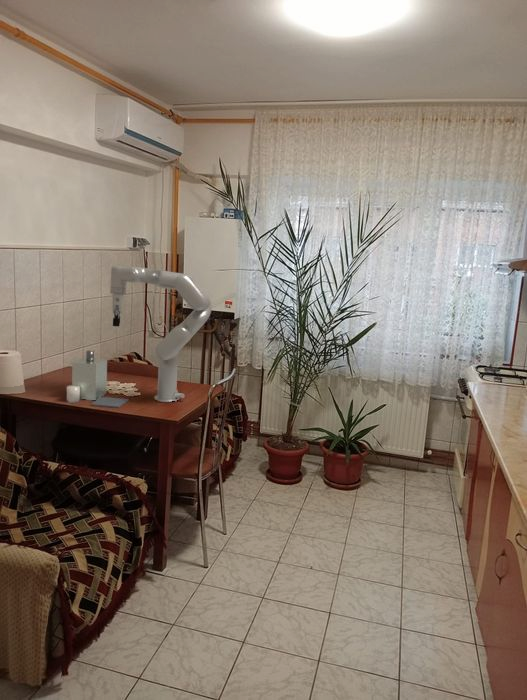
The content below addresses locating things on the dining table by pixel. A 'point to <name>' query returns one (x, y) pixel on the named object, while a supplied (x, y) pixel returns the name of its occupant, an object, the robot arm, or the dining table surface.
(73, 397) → the white round cylinder
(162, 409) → the dining table surface
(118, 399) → the mat
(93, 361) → the beige box
